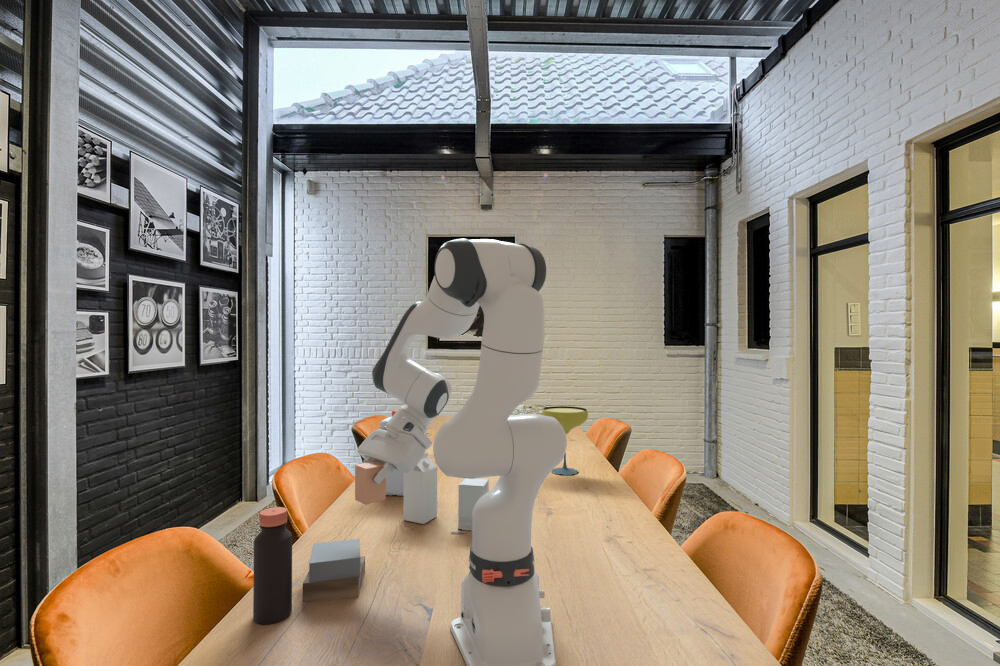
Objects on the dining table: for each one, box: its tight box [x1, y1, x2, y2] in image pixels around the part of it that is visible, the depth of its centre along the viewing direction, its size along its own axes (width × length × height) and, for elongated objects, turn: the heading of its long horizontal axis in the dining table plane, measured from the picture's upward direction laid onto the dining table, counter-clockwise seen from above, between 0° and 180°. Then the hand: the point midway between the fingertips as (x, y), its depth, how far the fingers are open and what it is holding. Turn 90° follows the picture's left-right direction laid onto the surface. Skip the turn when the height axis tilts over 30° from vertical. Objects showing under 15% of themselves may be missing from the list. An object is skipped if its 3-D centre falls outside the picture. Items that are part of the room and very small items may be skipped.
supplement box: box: [457, 478, 490, 531], centre depth 140 cm, size 7×7×13 cm
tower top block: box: [308, 538, 361, 583], centre depth 107 cm, size 10×10×4 cm
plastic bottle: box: [379, 408, 404, 497], centre depth 173 cm, size 15×15×28 cm
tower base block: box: [302, 555, 366, 602], centre depth 106 cm, size 11×11×4 cm
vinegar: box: [252, 506, 293, 625], centre depth 95 cm, size 7×7×20 cm
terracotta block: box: [354, 461, 387, 506], centre depth 114 cm, size 5×5×8 cm
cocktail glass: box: [541, 405, 589, 476], centre depth 197 cm, size 18×18×25 cm
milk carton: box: [402, 451, 438, 525], centre depth 146 cm, size 7×7×19 cm
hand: (367, 479), depth 113 cm, fingers closed on terracotta block, 5 cm apart
